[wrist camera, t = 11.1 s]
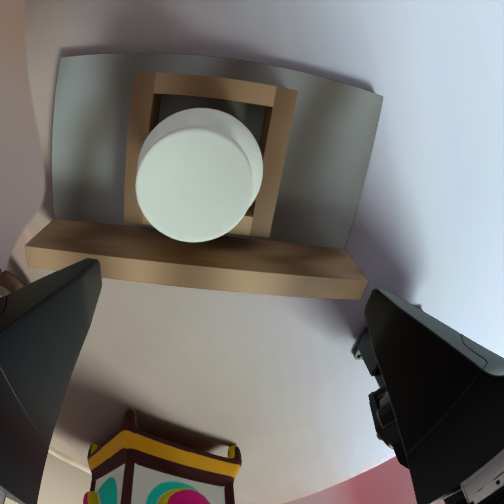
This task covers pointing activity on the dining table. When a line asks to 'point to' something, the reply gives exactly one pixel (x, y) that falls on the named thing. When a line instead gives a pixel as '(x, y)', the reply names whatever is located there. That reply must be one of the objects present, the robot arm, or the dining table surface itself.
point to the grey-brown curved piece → (9, 283)
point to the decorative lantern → (157, 470)
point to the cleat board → (263, 207)
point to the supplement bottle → (198, 174)
